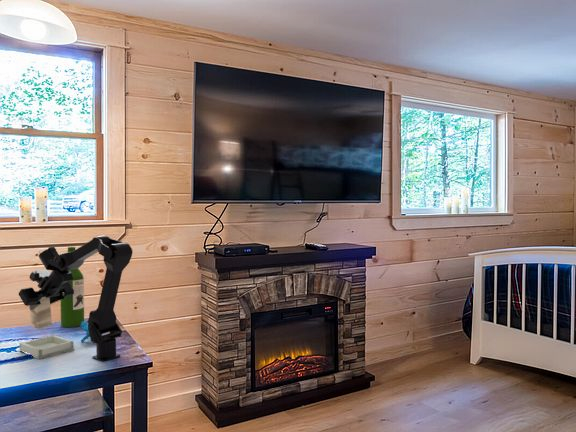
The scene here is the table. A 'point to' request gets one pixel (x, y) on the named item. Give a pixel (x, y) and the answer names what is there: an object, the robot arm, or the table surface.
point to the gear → (85, 328)
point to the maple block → (41, 314)
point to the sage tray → (46, 346)
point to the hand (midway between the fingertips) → (37, 307)
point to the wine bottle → (73, 300)
